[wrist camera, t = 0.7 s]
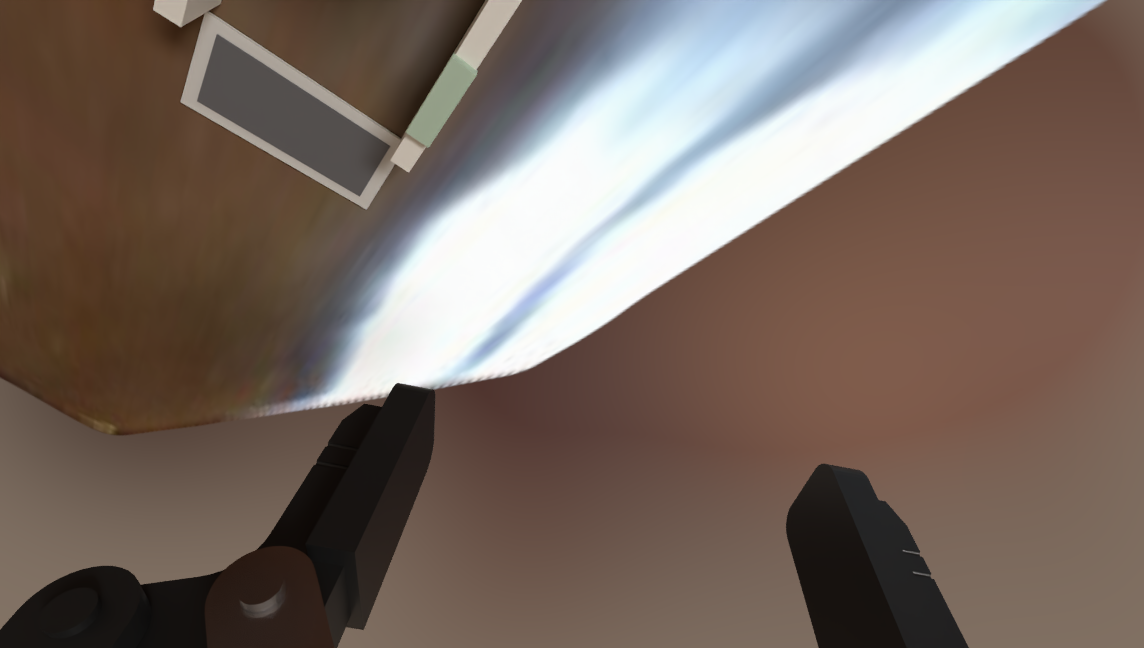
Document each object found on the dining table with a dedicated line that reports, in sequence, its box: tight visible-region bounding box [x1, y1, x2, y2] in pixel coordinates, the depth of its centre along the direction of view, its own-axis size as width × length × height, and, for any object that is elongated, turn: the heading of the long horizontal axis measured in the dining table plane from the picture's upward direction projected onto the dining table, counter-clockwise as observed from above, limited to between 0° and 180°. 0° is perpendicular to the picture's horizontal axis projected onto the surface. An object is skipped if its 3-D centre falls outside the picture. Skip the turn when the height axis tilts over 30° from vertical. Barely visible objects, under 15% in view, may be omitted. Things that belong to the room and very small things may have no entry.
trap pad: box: [181, 11, 401, 210], centre depth 33 cm, size 12×6×1 cm, turn 51°
